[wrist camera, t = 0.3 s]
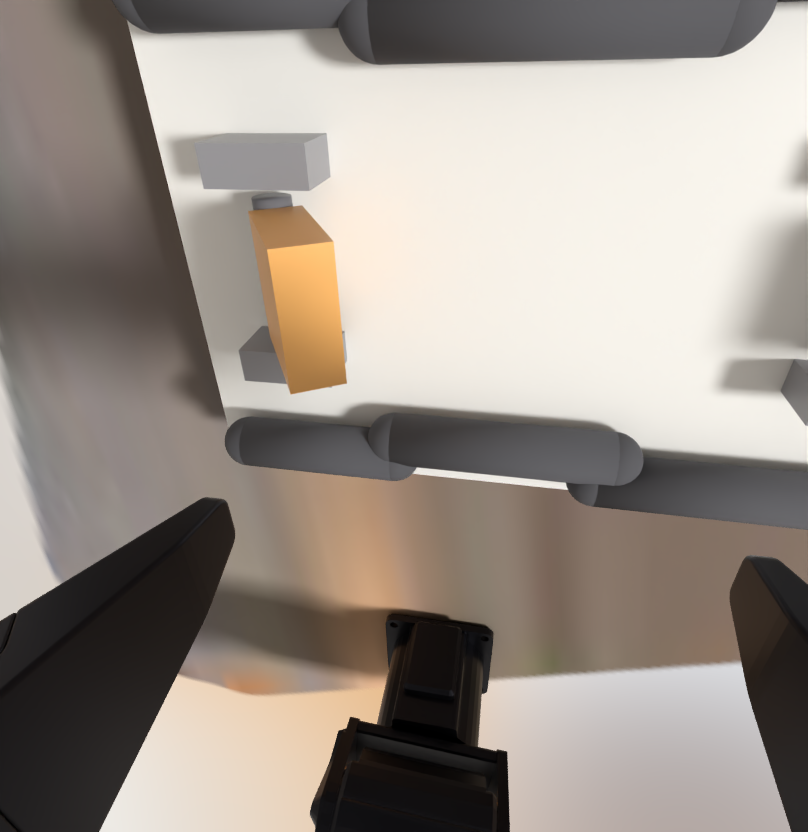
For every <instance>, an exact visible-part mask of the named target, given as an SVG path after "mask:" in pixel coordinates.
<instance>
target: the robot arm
mask: <svg viewBox="0 0 808 832" xmlns="http://www.w3.org/2000/svg"><path fill="white" fill-rule="evenodd" d="M234 540H235V528H234V525H233V521H232V517H231V514H230V510H229V507H228V504H227V502H226V501H225V500H223V499H219V498H209V497H205V498H202V499H200V500H198V501H197V502H195V503H193V504H192V505H190V506H188V507H187V508H185V509H183V510H182V511H180V512H178V513H177V514H175V515H174V516H172V517H170V518H169V519H167V520H165V521H164V522H162V523H160V524H159V525H157V526H156V527H154V528H152V529H151V530H149V531H147V532H146V533H144V534H142V535H141V536H139V537H137V538H136V539H134V540H133V541H131V542H129V543H128V544H126V545H124V546H123V547H121V548H119V549H118V550H116V551H115V552H113V553H111V554H110V555H108V556H106V557H105V558H103V559H101V560H100V561H98V562H96V563H95V564H93V565H92V566H90V567H88V568H87V569H85V570H83V571H82V572H80V573H78V574H77V575H75V576H73V577H72V578H70V579H69V580H67V581H65V582H64V583H62V584H60V585H59V586H57V587H55V588H54V589H52V590H51V591H49V592H47V593H46V594H44V595H42V596H41V597H39V598H37V599H36V600H34V601H32V602H31V603H29V604H27V605H26V606H24V607H23V608H21V609H20V610H19V611H18V612H17V613H13V614H11V615H9V616H8V617H6V618H4V619H3V620H1V621H0V832H99V831H100V829H101V827H102V825H103V823H104V820H105V819H106V817H107V814H108V813H109V811H110V809H111V807H112V804H113V802H114V800H115V798H116V797H117V795H118V792H119V790H120V789H121V787H122V784H123V783H124V781H125V779H126V777H127V774H128V773H129V770H130V768H131V766H132V764H133V763H134V761H135V759H136V757H137V755H138V752H139V750H140V748H141V746H142V744H143V742H144V740H145V738H146V736H147V734H148V732H149V730H150V728H151V726H152V724H153V722H154V720H155V718H156V716H157V714H158V712H159V710H160V708H161V706H162V704H163V702H164V700H165V698H166V696H167V694H168V692H169V690H170V688H171V686H172V684H173V682H174V680H175V678H176V676H177V674H178V672H179V670H180V668H181V666H182V664H183V662H184V660H185V658H186V656H187V654H188V652H189V650H190V648H191V646H192V644H193V642H194V640H195V638H196V636H197V634H198V632H199V630H200V628H201V626H202V624H203V622H204V620H205V618H206V615H207V613H208V611H209V608H210V606H211V603H212V600H213V598H214V595H215V592H216V590H217V587H218V584H219V582H220V579H221V576H222V574H223V571H224V568H225V565H226V563H227V560H228V557H229V555H230V552H231V549H232V547H233V544H234ZM730 606H731V611H732V616H733V621H734V626H735V631H736V636H737V641H738V646H739V651H740V657H741V662H742V667H743V672H744V677H745V682H746V686H747V691H748V695H749V698H750V702H751V705H752V709H753V712H754V715H755V719H756V722H757V725H758V728H759V731H760V734H761V737H762V741H763V744H764V747H765V750H766V753H767V756H768V759H769V762H770V766H771V769H772V772H773V775H774V778H775V782H776V784H777V788H778V791H779V794H780V797H781V800H782V804H783V807H784V810H785V813H786V816H787V819H788V822H789V825H790V829H791V832H808V584H807V583H805V582H804V581H803V580H802V579H801V578H800V577H798V576H797V575H796V574H795V573H794V572H793V571H791V570H790V569H789V568H788V567H787V566H785V565H784V564H783V563H782V562H781V561H779V560H778V559H776V558H772V557H764V556H755V555H750V556H747V557H746V558H744V560H743V562H742V564H741V566H740V568H739V571H738V573H737V575H736V578H735V580H734V582H733V584H732V587H731V590H730ZM386 635H387V650H388V665H389V672H388V676H387V681H386V685H385V690H384V694H383V699H382V704H381V708H380V713H379V717H378V722H377V724H372V723H368V722H363V721H360V719H358V718H354V717H350V719H349V722H348V725H347V728H346V729H343V730H339V731H338V734H337V738H336V742H335V746H334V749H333V752H332V756H331V759H330V762H329V765H328V767H327V770H326V772H325V774H324V777H323V779H322V781H321V784H320V786H319V788H318V791H317V793H316V795H315V798H314V800H313V803H312V806H311V810H310V816H311V818H312V820H313V823H314V824H315V827H316V829H315V832H510V822H509V794H508V793H509V792H508V766H507V765H508V762H507V752H506V751H502V750H497V751H493V750H489V749H484V748H480V747H478V737H479V724H480V709H481V695H482V694H484V693H486V692H487V688H488V680H489V672H490V663H491V655H492V646H493V635H494V634H493V631H492V630H490V629H488V628H483V627H477V626H470V625H463V624H456V623H450V622H443V621H436V620H429V619H423V618H416V617H409V616H402V615H396V614H391V615H389V616H388V617H387V621H386Z"/></svg>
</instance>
